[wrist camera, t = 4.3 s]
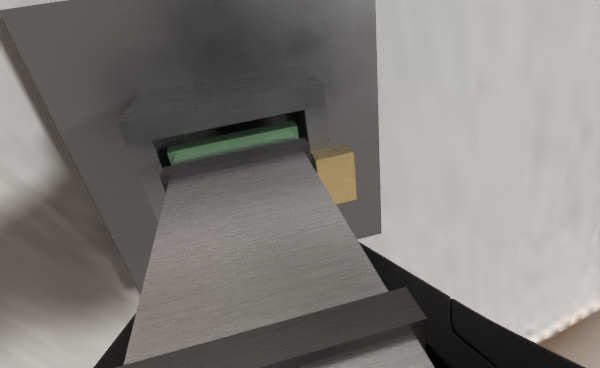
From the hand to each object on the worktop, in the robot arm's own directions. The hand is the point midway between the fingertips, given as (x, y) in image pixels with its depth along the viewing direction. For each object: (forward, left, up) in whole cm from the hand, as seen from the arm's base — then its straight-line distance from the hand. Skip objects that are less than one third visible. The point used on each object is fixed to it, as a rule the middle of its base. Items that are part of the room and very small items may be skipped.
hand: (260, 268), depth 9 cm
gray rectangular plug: (0, 0, -5) cm, 5 cm away
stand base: (0, 0, -9) cm, 9 cm away
